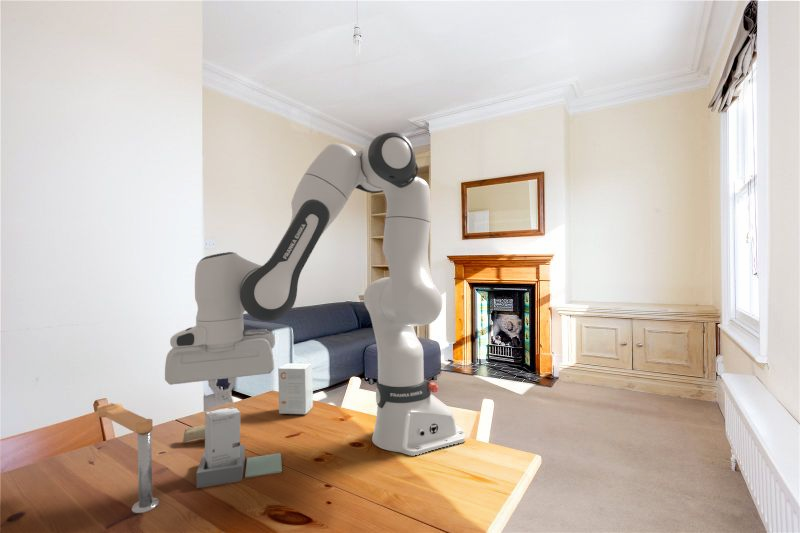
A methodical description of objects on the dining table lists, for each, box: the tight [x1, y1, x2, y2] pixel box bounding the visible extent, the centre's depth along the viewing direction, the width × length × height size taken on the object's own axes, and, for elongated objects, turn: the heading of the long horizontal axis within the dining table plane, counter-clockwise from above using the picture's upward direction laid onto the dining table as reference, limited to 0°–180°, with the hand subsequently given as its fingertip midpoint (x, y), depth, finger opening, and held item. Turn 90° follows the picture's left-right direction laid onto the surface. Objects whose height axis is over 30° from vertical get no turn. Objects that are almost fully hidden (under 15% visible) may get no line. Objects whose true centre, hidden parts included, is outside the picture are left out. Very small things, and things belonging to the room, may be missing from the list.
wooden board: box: [96, 402, 153, 435], centre depth 74 cm, size 19×4×2 cm, turn 55°
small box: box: [277, 362, 314, 415], centre depth 116 cm, size 8×6×13 cm
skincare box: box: [204, 406, 241, 469], centre depth 82 cm, size 6×4×12 cm
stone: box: [182, 424, 205, 443], centre depth 96 cm, size 11×6×5 cm, turn 117°
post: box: [131, 430, 160, 514], centre depth 70 cm, size 4×4×13 cm
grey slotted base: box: [195, 444, 246, 489], centre depth 81 cm, size 8×10×3 cm
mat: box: [244, 452, 283, 479], centre depth 84 cm, size 7×8×1 cm
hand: (223, 399), depth 82 cm, fingers closed
